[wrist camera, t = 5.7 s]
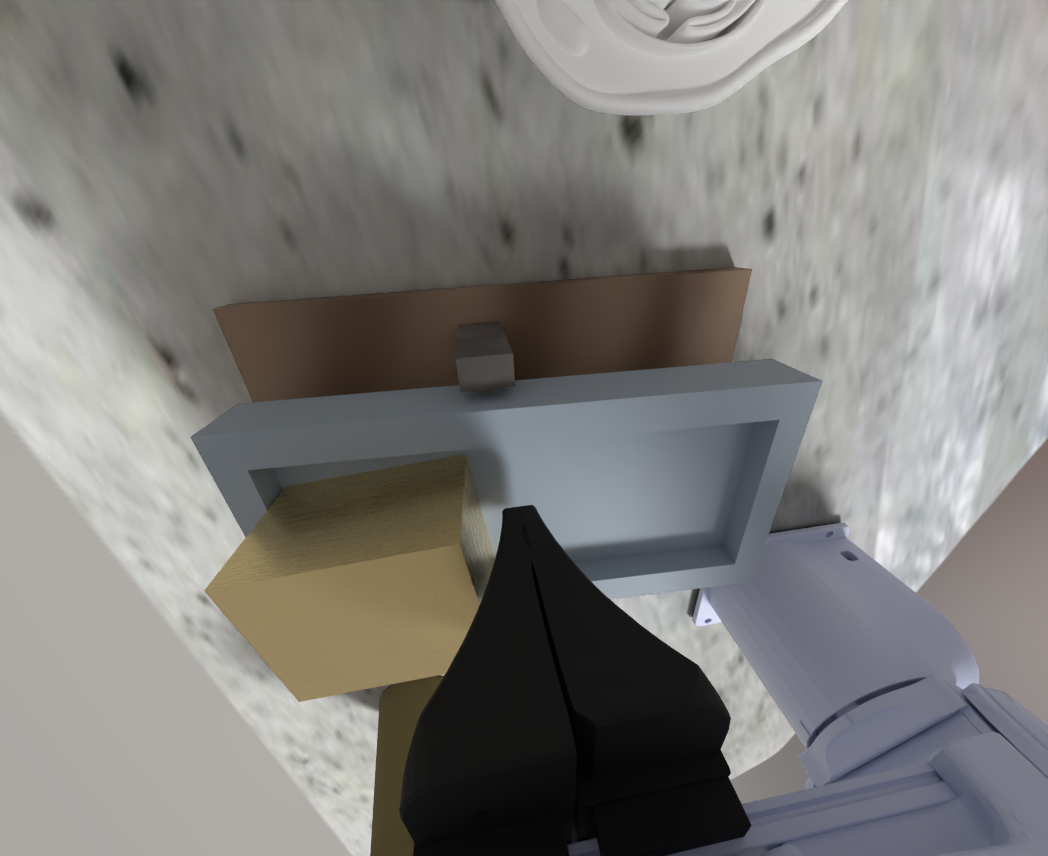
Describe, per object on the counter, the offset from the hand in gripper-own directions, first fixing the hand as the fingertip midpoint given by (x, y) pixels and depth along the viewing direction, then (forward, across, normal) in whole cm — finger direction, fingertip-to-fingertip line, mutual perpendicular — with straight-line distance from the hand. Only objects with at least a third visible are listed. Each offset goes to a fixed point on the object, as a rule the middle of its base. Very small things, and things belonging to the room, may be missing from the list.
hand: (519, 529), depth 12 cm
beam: (+2, 0, 0) cm, 2 cm away
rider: (+1, +4, 0) cm, 4 cm away
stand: (+6, 0, 0) cm, 6 cm away
